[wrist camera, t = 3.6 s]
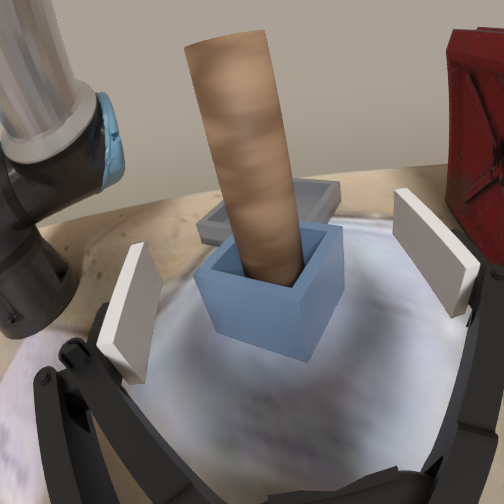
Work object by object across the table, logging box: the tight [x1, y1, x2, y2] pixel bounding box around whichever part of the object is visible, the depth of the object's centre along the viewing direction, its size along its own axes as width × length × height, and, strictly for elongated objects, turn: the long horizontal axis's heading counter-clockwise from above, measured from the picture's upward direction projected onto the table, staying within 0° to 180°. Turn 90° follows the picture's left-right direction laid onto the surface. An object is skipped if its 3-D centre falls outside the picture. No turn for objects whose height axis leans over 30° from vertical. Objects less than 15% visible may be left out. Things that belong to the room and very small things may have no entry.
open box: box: [193, 221, 344, 362], centre depth 27 cm, size 9×9×7 cm
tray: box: [196, 178, 341, 247], centre depth 42 cm, size 14×14×3 cm
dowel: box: [184, 30, 305, 288], centre depth 23 cm, size 5×5×22 cm
